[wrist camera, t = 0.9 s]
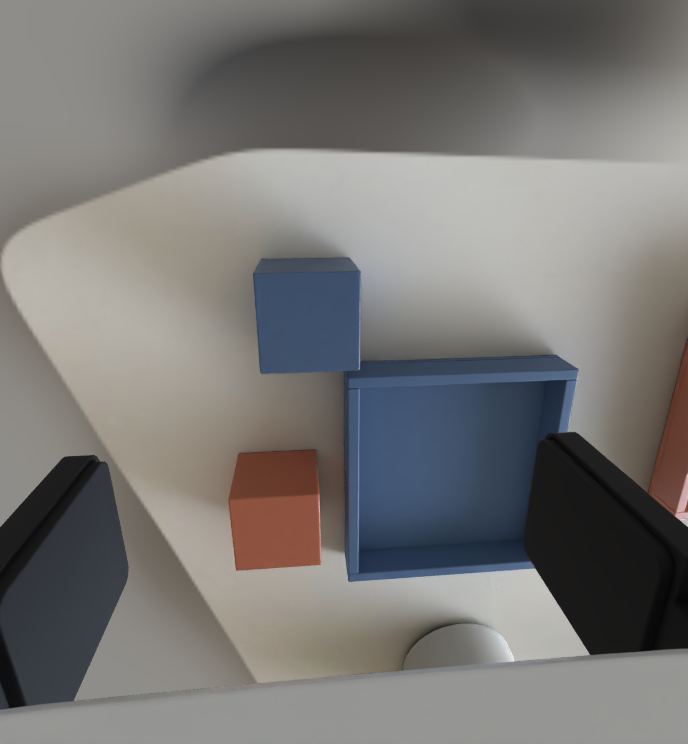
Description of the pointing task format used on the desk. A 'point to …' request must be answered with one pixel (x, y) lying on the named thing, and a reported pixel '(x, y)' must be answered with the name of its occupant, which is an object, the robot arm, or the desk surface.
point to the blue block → (308, 315)
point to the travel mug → (458, 648)
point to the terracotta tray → (674, 452)
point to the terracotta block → (275, 510)
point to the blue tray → (446, 461)
